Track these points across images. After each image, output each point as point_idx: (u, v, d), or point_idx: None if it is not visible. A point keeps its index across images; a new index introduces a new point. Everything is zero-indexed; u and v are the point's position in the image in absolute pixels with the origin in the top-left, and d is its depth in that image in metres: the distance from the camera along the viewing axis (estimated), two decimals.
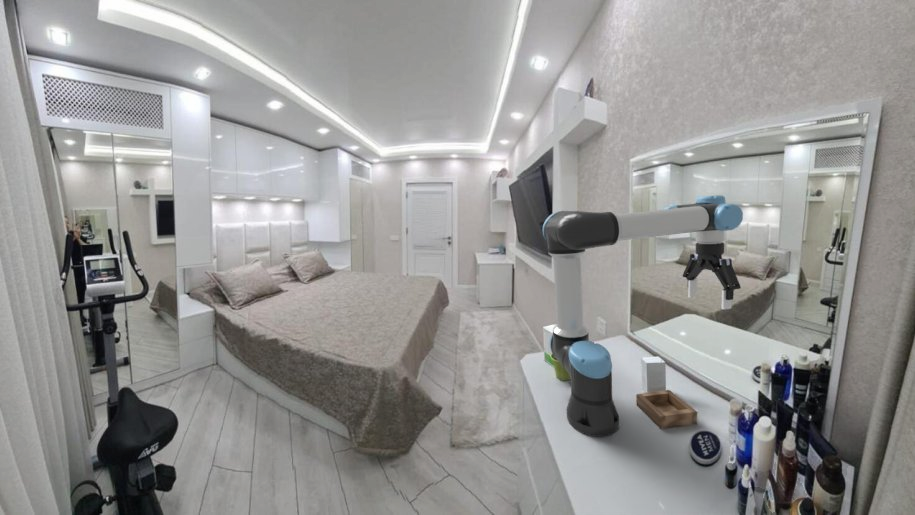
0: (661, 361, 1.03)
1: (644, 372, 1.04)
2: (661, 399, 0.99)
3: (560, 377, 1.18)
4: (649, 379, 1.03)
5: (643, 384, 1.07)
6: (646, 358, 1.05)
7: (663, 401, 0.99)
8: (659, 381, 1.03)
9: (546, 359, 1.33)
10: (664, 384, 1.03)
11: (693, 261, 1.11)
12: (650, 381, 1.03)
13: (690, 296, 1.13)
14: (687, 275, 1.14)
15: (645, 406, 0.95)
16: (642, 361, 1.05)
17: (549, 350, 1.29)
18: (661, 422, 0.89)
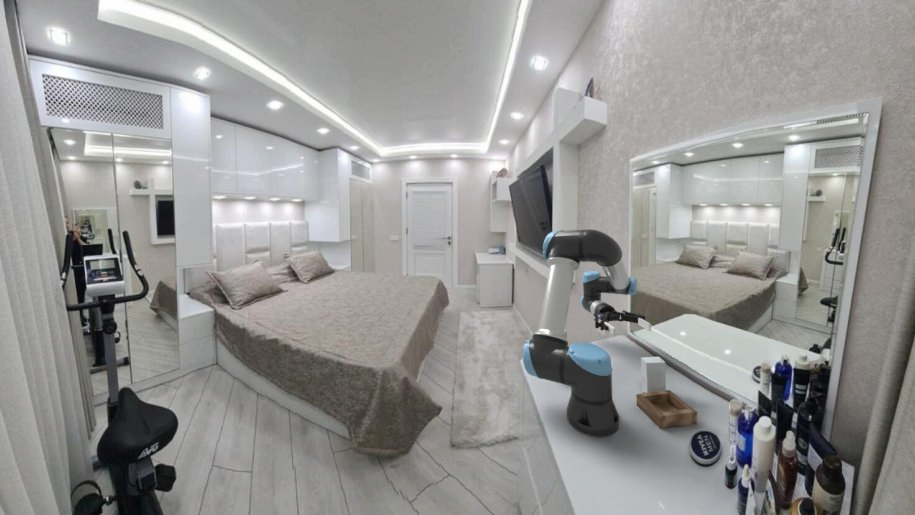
0: (661, 361, 1.03)
1: (644, 372, 1.04)
2: (661, 399, 0.99)
3: None
4: (649, 379, 1.03)
5: (643, 384, 1.07)
6: (646, 358, 1.05)
7: (663, 401, 0.99)
8: (659, 381, 1.03)
9: None
10: (664, 384, 1.03)
11: None
12: (650, 381, 1.03)
13: None
14: None
15: (645, 406, 0.95)
16: (642, 361, 1.05)
17: None
18: (661, 422, 0.89)
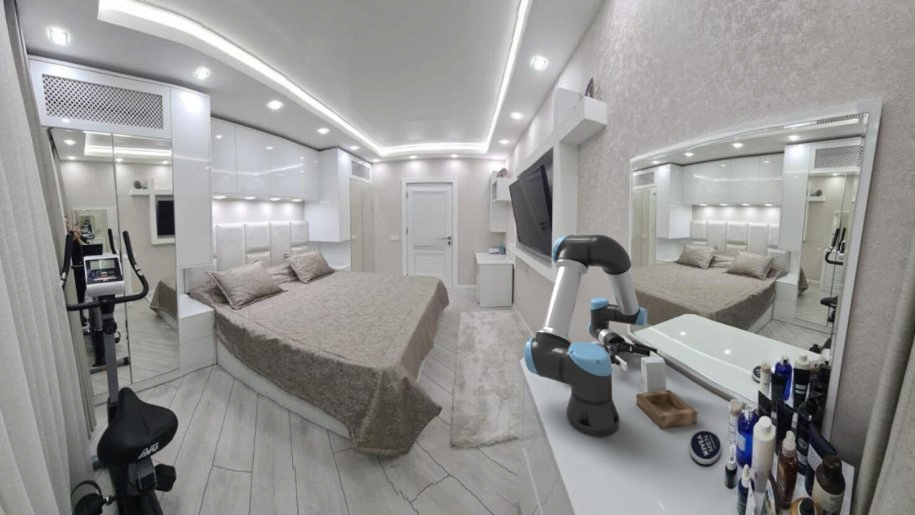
0: (661, 361, 1.03)
1: (644, 372, 1.04)
2: (661, 399, 0.99)
3: None
4: (649, 379, 1.03)
5: (643, 384, 1.07)
6: (646, 358, 1.05)
7: (663, 401, 0.99)
8: (659, 381, 1.03)
9: None
10: (664, 384, 1.03)
11: None
12: (650, 381, 1.03)
13: None
14: (609, 356, 1.18)
15: (645, 406, 0.95)
16: (642, 361, 1.05)
17: None
18: (661, 422, 0.89)
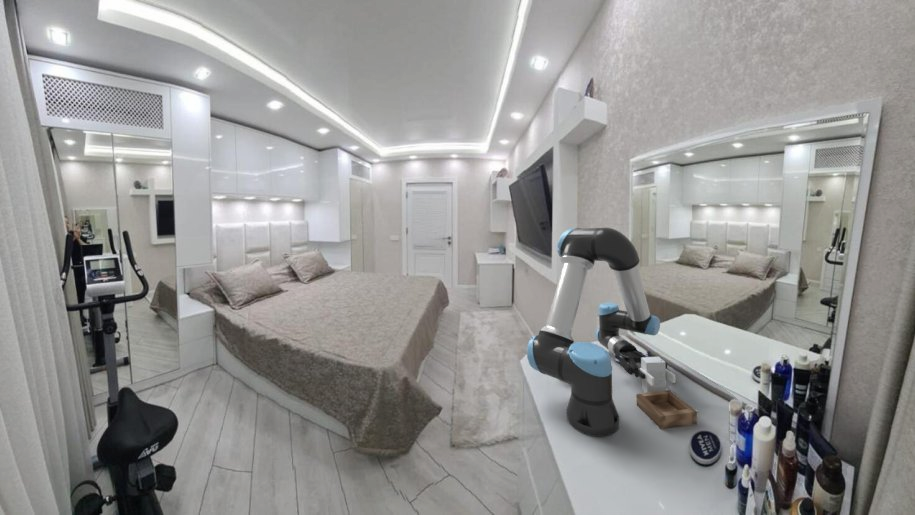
0: (661, 361, 1.03)
1: None
2: (661, 399, 0.99)
3: None
4: None
5: (643, 384, 1.07)
6: (646, 358, 1.05)
7: (663, 401, 0.99)
8: (659, 381, 1.03)
9: None
10: (664, 384, 1.03)
11: None
12: None
13: None
14: (633, 368, 1.07)
15: (645, 406, 0.95)
16: (642, 361, 1.05)
17: None
18: (661, 422, 0.89)
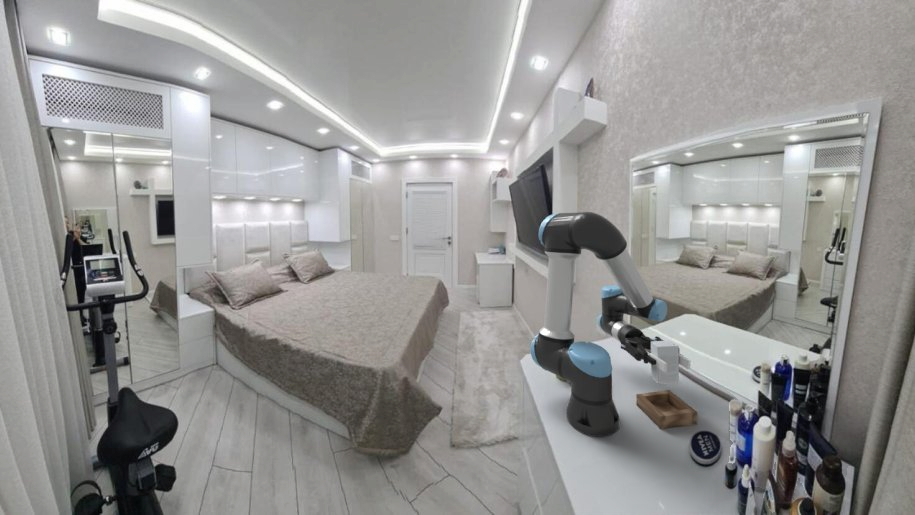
0: (674, 345, 0.91)
1: None
2: (661, 399, 0.99)
3: (560, 377, 1.18)
4: None
5: (652, 371, 0.96)
6: (657, 342, 0.94)
7: (663, 401, 0.99)
8: (672, 367, 0.92)
9: None
10: (677, 371, 0.92)
11: None
12: None
13: None
14: (641, 353, 0.96)
15: (645, 406, 0.95)
16: (652, 345, 0.94)
17: None
18: (661, 422, 0.89)
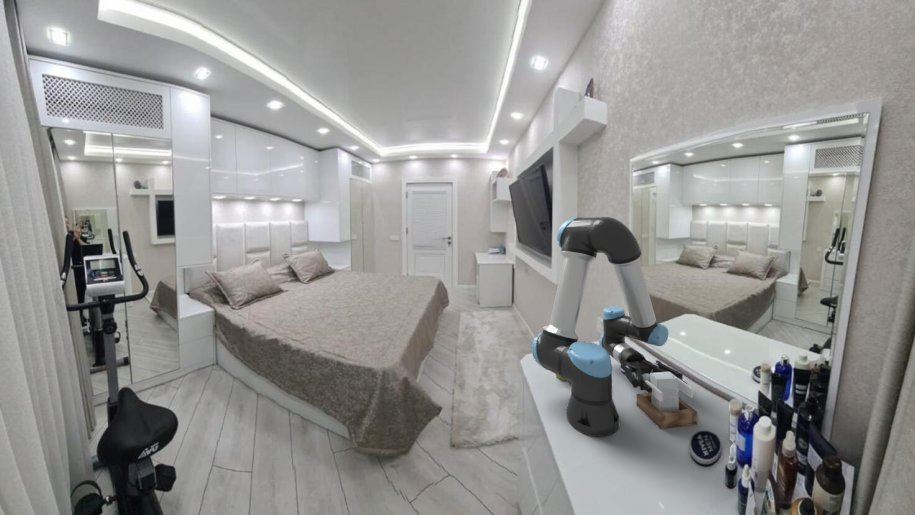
0: (673, 377, 0.92)
1: None
2: None
3: (560, 377, 1.18)
4: None
5: (652, 403, 0.96)
6: (656, 374, 0.94)
7: None
8: (672, 400, 0.92)
9: None
10: (677, 403, 0.92)
11: None
12: None
13: None
14: (638, 380, 0.96)
15: (645, 406, 0.95)
16: (651, 377, 0.95)
17: None
18: (661, 422, 0.89)
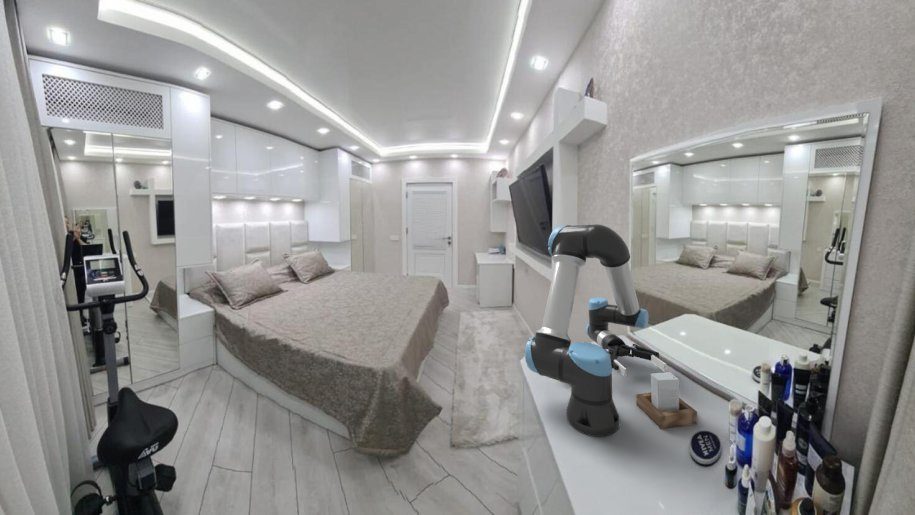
0: (674, 378, 0.91)
1: (655, 390, 0.93)
2: None
3: None
4: (661, 398, 0.92)
5: (653, 403, 0.96)
6: (657, 375, 0.94)
7: None
8: (672, 400, 0.92)
9: None
10: (678, 403, 0.92)
11: None
12: (661, 400, 0.92)
13: None
14: None
15: (645, 406, 0.95)
16: (652, 378, 0.94)
17: None
18: (661, 422, 0.89)
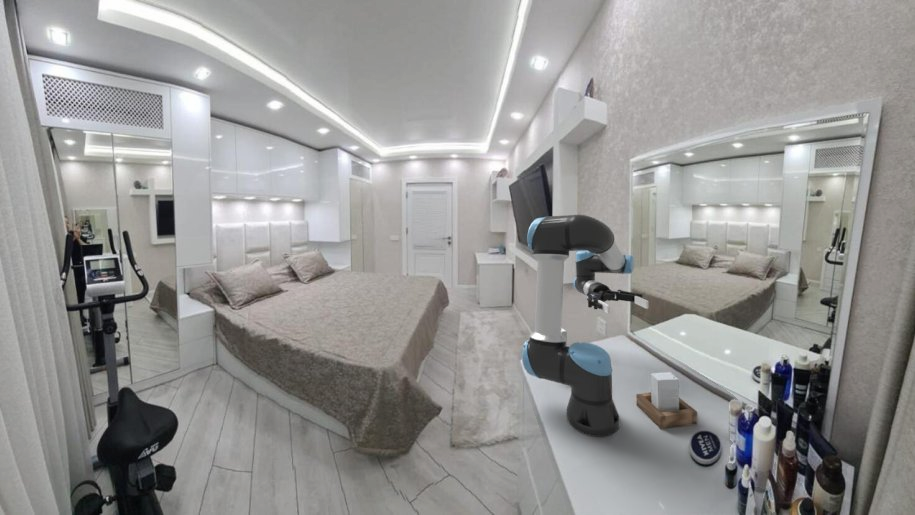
0: (674, 378, 0.91)
1: (655, 390, 0.93)
2: None
3: None
4: (660, 398, 0.92)
5: (653, 403, 0.96)
6: (657, 375, 0.94)
7: None
8: (672, 400, 0.92)
9: None
10: (678, 403, 0.92)
11: None
12: (661, 400, 0.92)
13: None
14: (592, 301, 1.12)
15: (645, 406, 0.95)
16: (652, 378, 0.94)
17: None
18: (661, 422, 0.89)
